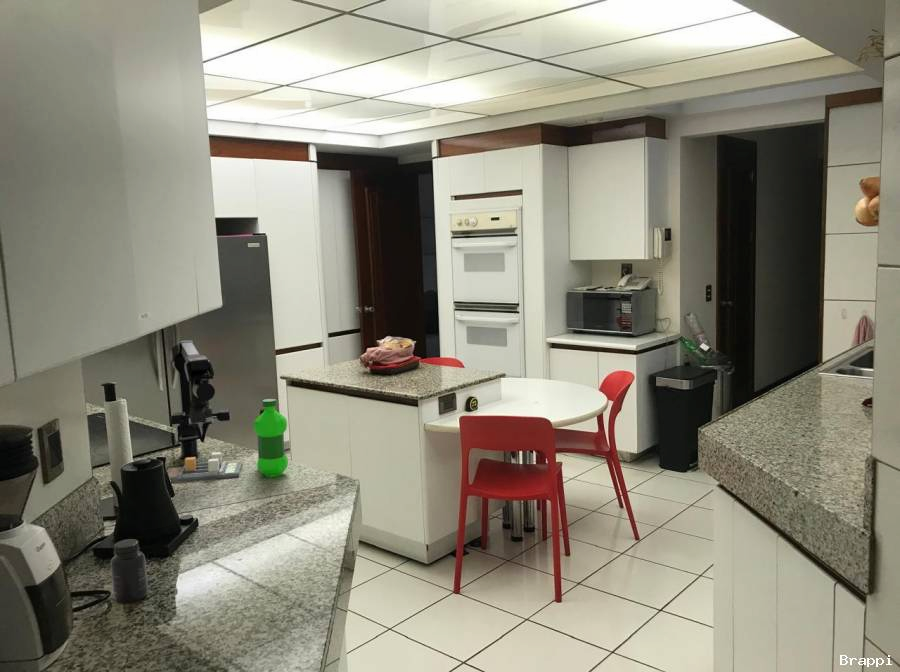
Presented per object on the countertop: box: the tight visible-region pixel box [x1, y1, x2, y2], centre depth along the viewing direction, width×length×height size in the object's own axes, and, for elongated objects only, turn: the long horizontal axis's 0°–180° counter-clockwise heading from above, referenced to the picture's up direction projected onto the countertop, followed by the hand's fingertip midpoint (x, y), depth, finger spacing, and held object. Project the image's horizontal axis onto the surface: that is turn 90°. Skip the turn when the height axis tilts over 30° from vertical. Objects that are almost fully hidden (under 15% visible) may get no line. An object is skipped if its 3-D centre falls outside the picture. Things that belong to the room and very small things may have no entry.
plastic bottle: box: [253, 398, 289, 478], centre depth 237 cm, size 10×10×25 cm
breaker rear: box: [210, 451, 223, 466], centre depth 245 cm, size 3×3×4 cm
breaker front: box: [207, 458, 219, 473], centre depth 237 cm, size 3×3×4 cm
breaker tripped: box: [184, 457, 197, 471], centre depth 239 cm, size 3×3×4 cm
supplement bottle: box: [109, 538, 149, 604], centre depth 154 cm, size 7×7×12 cm
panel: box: [166, 460, 243, 483], centre depth 240 cm, size 13×24×2 cm, turn 101°
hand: (202, 442), depth 239 cm, fingers closed
